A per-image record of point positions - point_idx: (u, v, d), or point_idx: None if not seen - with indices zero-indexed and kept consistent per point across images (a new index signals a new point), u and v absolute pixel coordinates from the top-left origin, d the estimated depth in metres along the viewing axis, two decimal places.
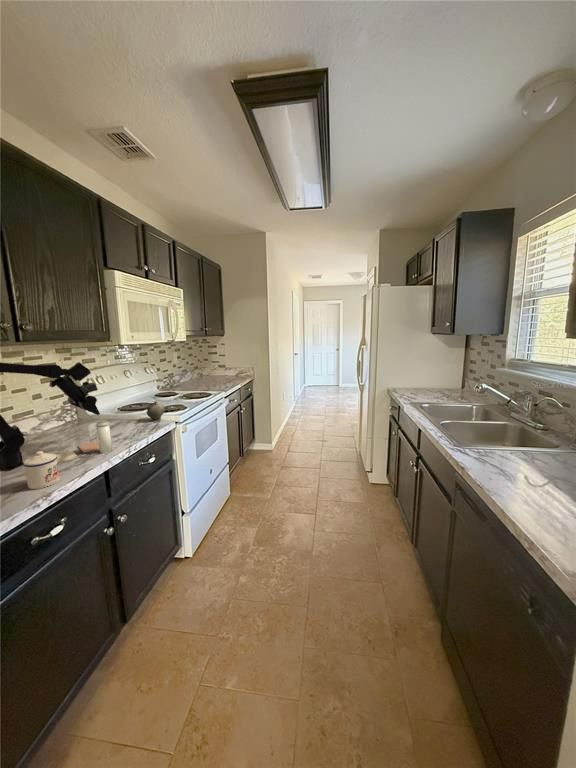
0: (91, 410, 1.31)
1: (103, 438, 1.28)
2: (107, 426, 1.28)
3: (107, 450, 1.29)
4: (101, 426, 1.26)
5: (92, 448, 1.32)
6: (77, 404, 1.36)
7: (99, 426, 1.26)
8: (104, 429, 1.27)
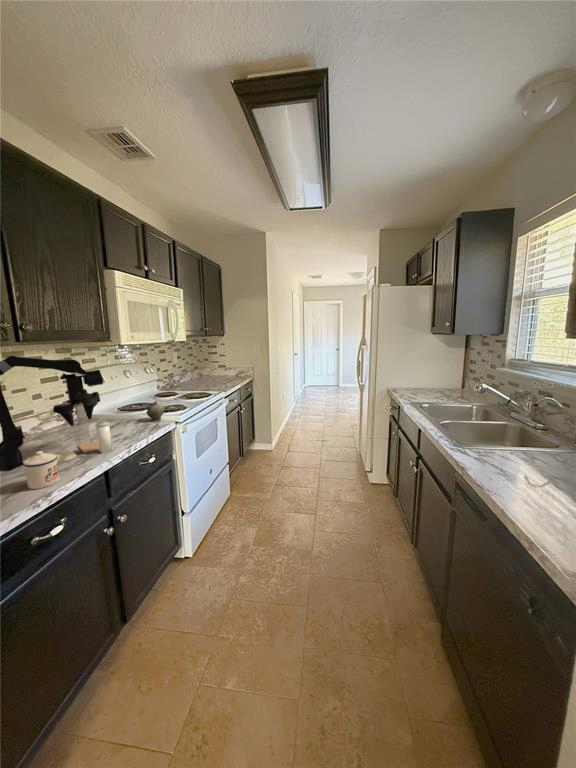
0: (65, 417, 1.24)
1: (103, 438, 1.28)
2: (107, 426, 1.28)
3: (107, 450, 1.29)
4: (101, 426, 1.26)
5: (92, 448, 1.32)
6: (84, 405, 1.35)
7: (99, 426, 1.26)
8: (104, 429, 1.27)
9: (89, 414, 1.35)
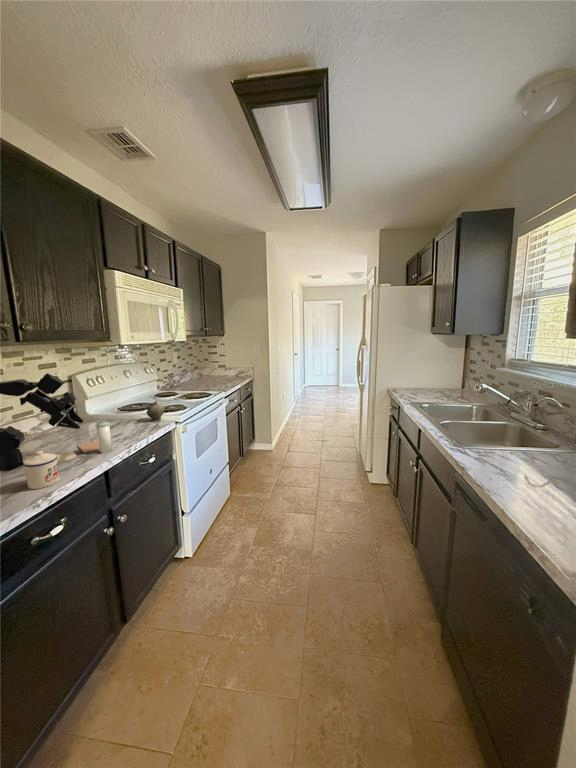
0: (66, 425, 1.18)
1: (103, 438, 1.28)
2: (107, 426, 1.28)
3: (107, 450, 1.29)
4: (101, 426, 1.26)
5: (92, 448, 1.32)
6: None
7: (99, 426, 1.26)
8: (104, 429, 1.27)
9: (78, 418, 1.28)
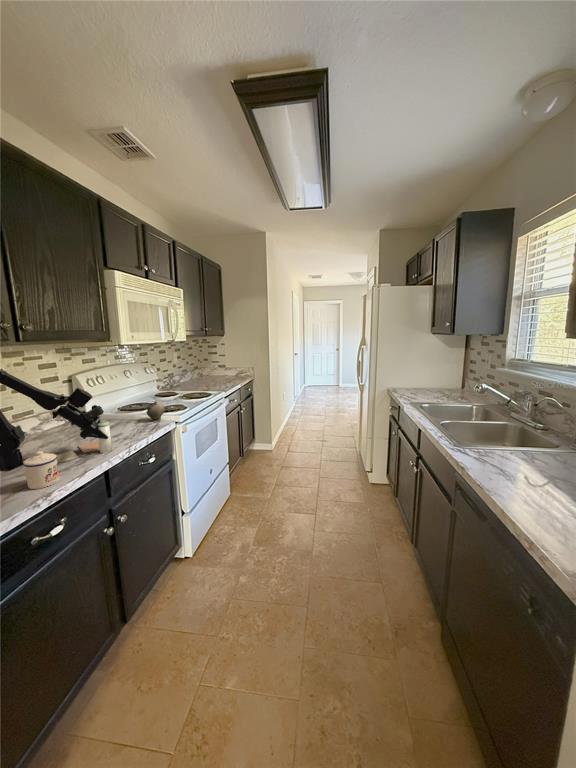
0: (96, 436, 1.25)
1: None
2: (107, 426, 1.28)
3: (107, 450, 1.29)
4: (101, 426, 1.26)
5: (92, 448, 1.32)
6: None
7: (99, 426, 1.26)
8: (104, 429, 1.27)
9: None
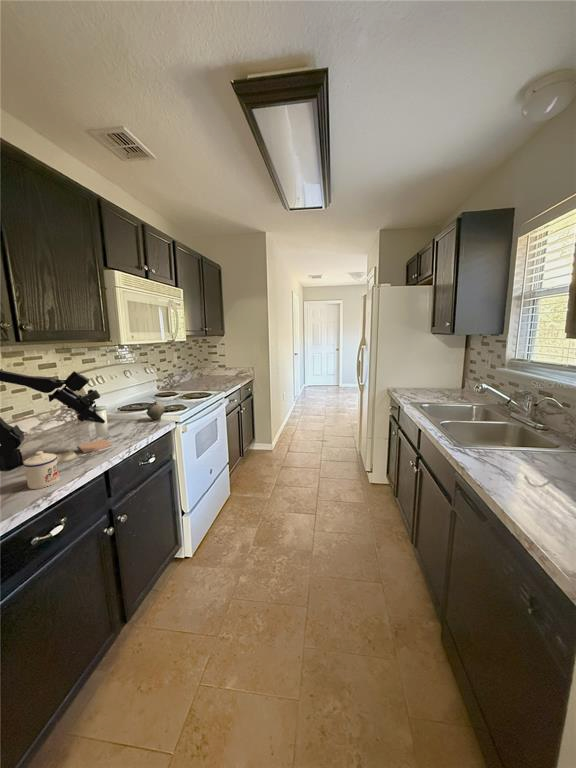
0: (93, 419, 1.25)
1: (100, 423, 1.28)
2: (104, 410, 1.28)
3: (104, 434, 1.29)
4: (98, 410, 1.26)
5: (92, 448, 1.32)
6: None
7: (96, 410, 1.26)
8: (101, 413, 1.27)
9: None
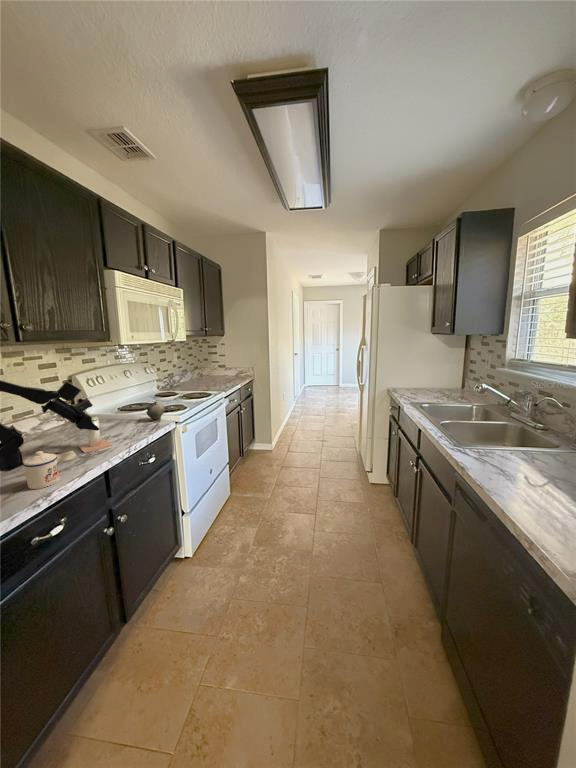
0: (89, 427, 1.29)
1: (94, 432, 1.34)
2: (97, 420, 1.35)
3: (97, 443, 1.35)
4: (92, 420, 1.32)
5: (92, 448, 1.32)
6: None
7: None
8: (95, 423, 1.33)
9: None
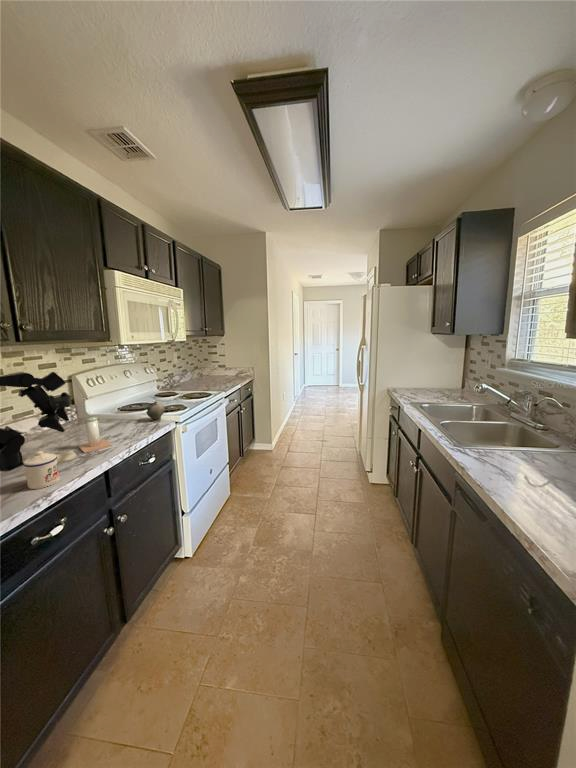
0: (53, 427, 1.23)
1: (94, 432, 1.34)
2: (96, 420, 1.34)
3: (97, 443, 1.35)
4: (91, 421, 1.32)
5: (92, 448, 1.32)
6: None
7: (89, 421, 1.32)
8: (94, 423, 1.33)
9: (65, 416, 1.33)
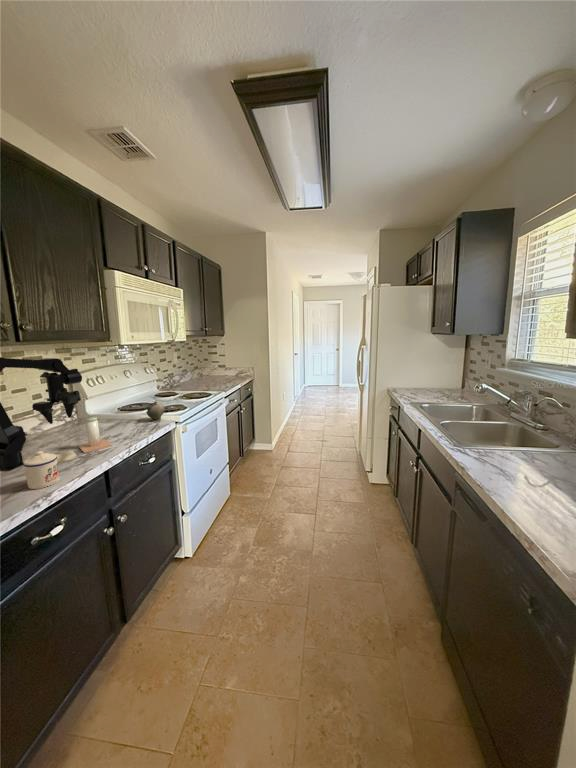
0: (44, 415, 1.26)
1: (94, 432, 1.34)
2: (96, 420, 1.34)
3: (97, 443, 1.35)
4: (91, 421, 1.32)
5: (92, 448, 1.32)
6: (65, 404, 1.37)
7: (89, 421, 1.32)
8: (94, 423, 1.33)
9: (69, 412, 1.37)
